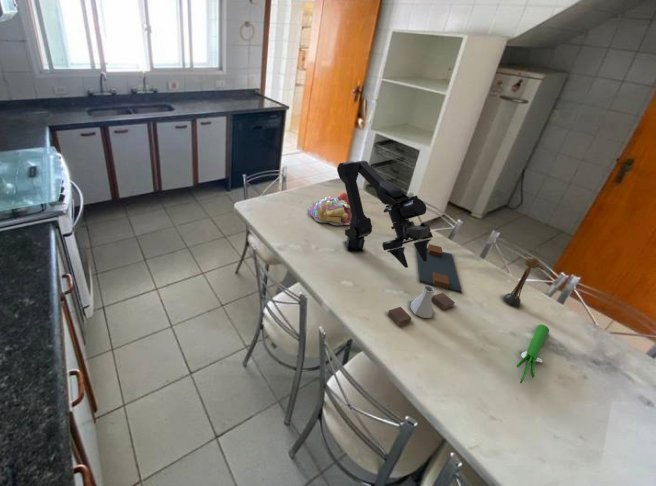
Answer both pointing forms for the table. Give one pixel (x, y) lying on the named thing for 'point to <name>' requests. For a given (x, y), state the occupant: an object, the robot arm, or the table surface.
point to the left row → (402, 317)
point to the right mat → (438, 269)
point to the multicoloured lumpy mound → (332, 210)
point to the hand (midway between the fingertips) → (416, 264)
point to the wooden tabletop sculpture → (522, 282)
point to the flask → (423, 303)
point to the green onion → (534, 350)
